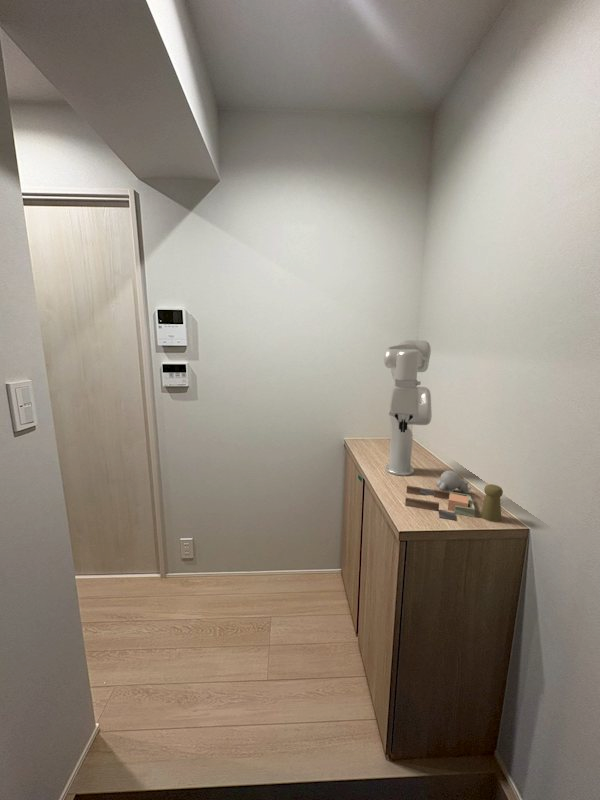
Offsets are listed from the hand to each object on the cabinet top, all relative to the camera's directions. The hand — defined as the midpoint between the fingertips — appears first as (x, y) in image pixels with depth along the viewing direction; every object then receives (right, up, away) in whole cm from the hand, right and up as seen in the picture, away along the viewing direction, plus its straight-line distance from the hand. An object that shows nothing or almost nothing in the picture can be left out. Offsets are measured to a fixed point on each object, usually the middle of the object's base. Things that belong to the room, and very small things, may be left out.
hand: (402, 431), depth 124 cm
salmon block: (+16, -26, -11) cm, 32 cm away
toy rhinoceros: (+20, -24, +2) cm, 32 cm away
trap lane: (+10, -25, -7) cm, 28 cm away
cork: (+24, -27, -17) cm, 40 cm away
